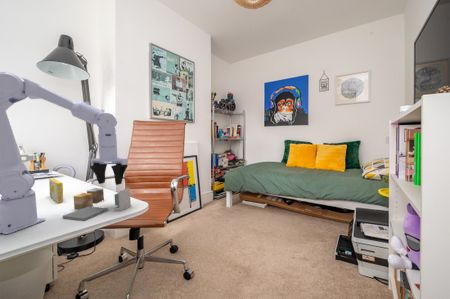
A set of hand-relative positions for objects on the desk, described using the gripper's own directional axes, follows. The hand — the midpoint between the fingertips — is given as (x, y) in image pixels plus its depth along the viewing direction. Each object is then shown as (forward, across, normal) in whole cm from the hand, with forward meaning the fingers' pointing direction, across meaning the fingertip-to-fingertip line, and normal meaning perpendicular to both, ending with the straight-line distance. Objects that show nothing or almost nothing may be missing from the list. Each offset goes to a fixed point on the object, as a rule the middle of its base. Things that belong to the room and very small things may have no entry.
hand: (110, 183), depth 74 cm
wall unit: (+9, -5, 0) cm, 10 cm away
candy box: (+9, +32, -4) cm, 34 cm away
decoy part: (+9, +12, -5) cm, 16 cm away
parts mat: (+9, +3, +7) cm, 12 cm away
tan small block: (+9, +10, +2) cm, 14 cm away
